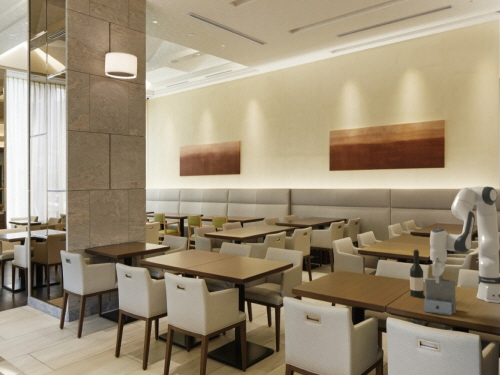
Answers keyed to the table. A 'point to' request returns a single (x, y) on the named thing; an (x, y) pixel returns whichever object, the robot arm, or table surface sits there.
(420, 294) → the wine bottle
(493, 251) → the robot arm
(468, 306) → the table surface
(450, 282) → the grey rectangular slab
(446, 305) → the vise
